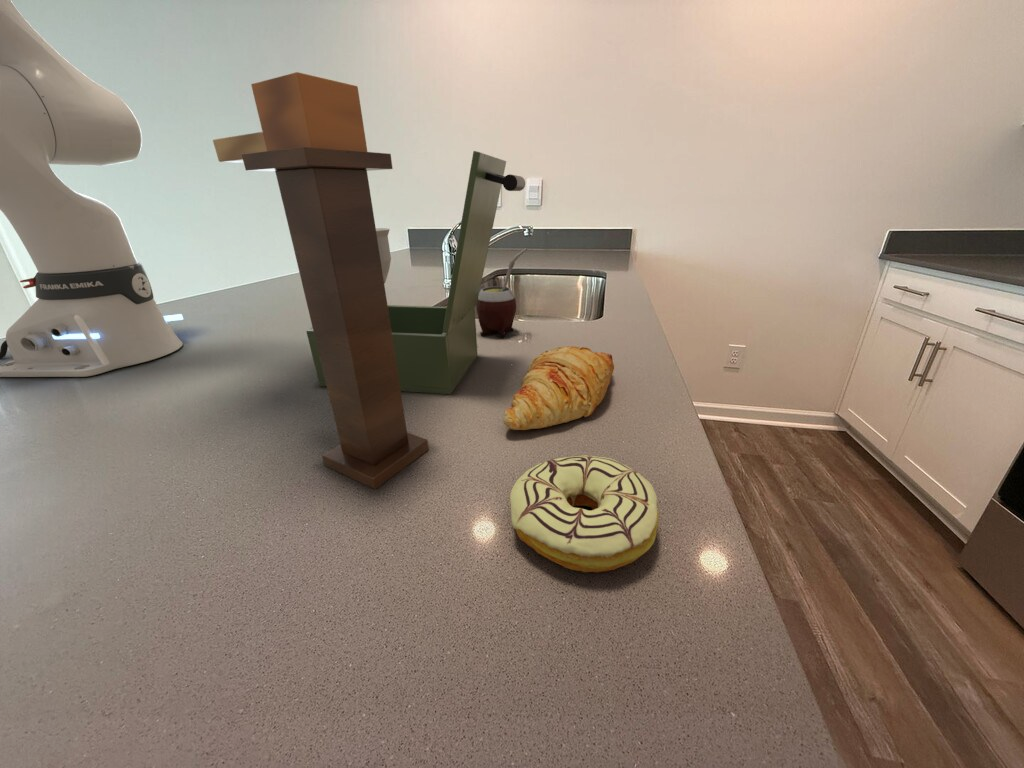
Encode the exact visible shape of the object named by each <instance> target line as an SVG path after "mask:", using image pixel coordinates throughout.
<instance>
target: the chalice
mask: <svg viewBox="0 0 1024 768" xmlns="http://www.w3.org/2000/svg"><path fill="white" fill-rule="evenodd" d="M390 231H391V230H390V228H386V227H376V234H377V240H378V247H379V253H380V260H381V266H382V273H383V279H384V284H386V283H387V278H388V275H389V272H390V269H391V268H390V267H391V263H392V262H391V261H392V255H391V250H390V242H389V241H390V240H389V233H390Z"/></svg>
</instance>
